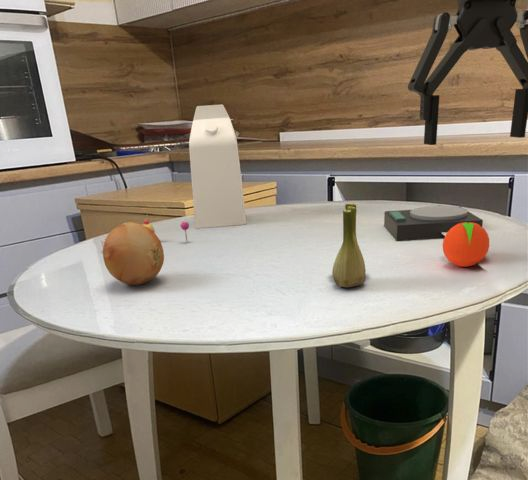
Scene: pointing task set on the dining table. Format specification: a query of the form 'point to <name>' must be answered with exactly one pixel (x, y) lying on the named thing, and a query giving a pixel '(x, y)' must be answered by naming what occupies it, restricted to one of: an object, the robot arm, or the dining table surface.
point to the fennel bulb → (349, 253)
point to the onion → (133, 253)
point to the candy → (146, 223)
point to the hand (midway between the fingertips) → (473, 140)
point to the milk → (215, 169)
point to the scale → (426, 221)
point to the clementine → (466, 244)
